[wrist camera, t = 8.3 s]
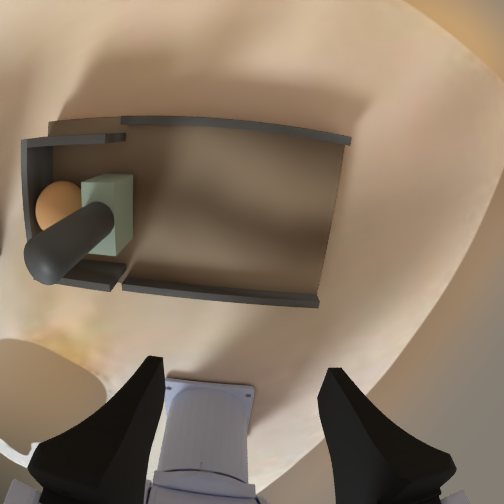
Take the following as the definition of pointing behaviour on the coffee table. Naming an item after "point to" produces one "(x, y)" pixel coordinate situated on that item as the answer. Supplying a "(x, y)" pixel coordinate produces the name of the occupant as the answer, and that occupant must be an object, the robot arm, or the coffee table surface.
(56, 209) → the ball
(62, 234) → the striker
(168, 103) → the coffee table surface
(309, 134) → the tray
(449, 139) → the coffee table surface
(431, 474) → the robot arm
